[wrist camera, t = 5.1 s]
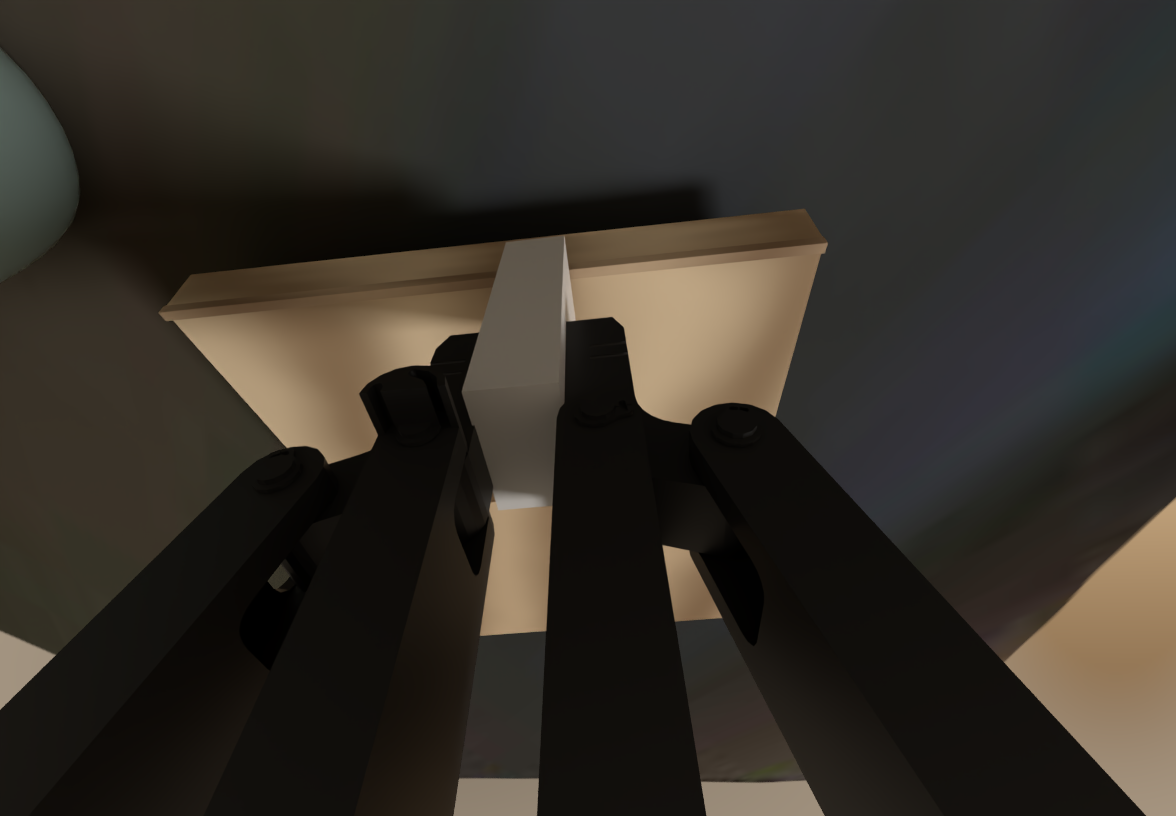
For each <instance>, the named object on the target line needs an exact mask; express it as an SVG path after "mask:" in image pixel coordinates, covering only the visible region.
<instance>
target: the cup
mask: <svg viewBox="0 0 1176 816" xmlns="http://www.w3.org/2000/svg"><path fill="white" fill-rule="evenodd" d="M80 194H81V192H80V178H79V171H78V168H77V164H76V161H75V157H74V153H73V150H72V147H71V145H70V142H69V140H68V138H67V136H66V133H65V131H64V129H63V126H62V124H61V123H60V121H59V119H58V118H57V116H56V114H55V113H54V111H53V109H52V108H51V106H50V104H49V103H48V101H47V100H46V98H45V97H44V96H43V94H42V93H41V92H40V90H39V89H38V88H37V86H36V85H35V84H34V82H33V81H32V80H31V79H30V78H29V76H28V75H27V74H26V73H25V72H24V71H23V70H22V69H21V68H20V67H19V66H18V65H17V64H16V63H15V61H14V60H13V59H12V58H11V57H10V56H9V55H8V54H7V53H6V52H5V51H4V50H3V49H2V48H1V47H0V284H1V283H3V282H5V281H6V280H8V279H10V278H11V277H13V276H14V275H16V274H17V273H19V272H20V271H22V270H23V269H25V268H26V267H28V266H29V265H31V264H32V263H34V262H36V261H37V260H39V259H40V258H42V257H43V256H44V255H45V254H46V253H47V252H49V251H50V250H51V249H52V248H53V247H54V246H56V244H57V243H58V242H59V240H60V239H61V238H62V237H63V235H64V234H65V232H66V231H67V230H68V228H69V227H70V225H71V224H72V223H73V221H74V219H75V215H76V212H77V208H78V203H79V199H80Z"/></svg>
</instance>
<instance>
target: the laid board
mask: <svg viewBox="0 0 1176 816" xmlns="http://www.w3.org/2000/svg"><path fill="white" fill-rule="evenodd" d="M489 511H490V514H491V517H492V520H493V523H494V532H495V536H494V543H493V549H492V556H491V563H490V570H489V577H488V583H487V590H486V597H485V604H484V611H483V617H482V624H481V631H480V636H483V635H497V634H510V633H524V632H537V631H546V625H547V604H548V584H549V564H550V543H551V523H552V506H545V507H532V508H520V509H509V510H498V507H497V504H496V501H495V498H494V494H493V492H492V498H491V504H490V509H489ZM663 551H664V557H665V563H666V569H667V576H668V582H669V588H670V594H671V600H672V607H673V613H674V619H675V621H686V620H699V619H713V618H722V616H721V614H720V612H719V610H718V608H717V607H716V605H715V603H714V601H713V599H712V597H711V595H710V593H709V591H708V589H707V587H706V585H705V583H704V581H703V580H702V578H701V576H700V574H699V572H698V570H697V568H696V566H695V564H694V562H693V560H692V558H691V556H690V552H689V550H684V549H679V548H674V547H669V546H664V545H663Z"/></svg>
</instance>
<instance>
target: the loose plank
mask: <svg viewBox="0 0 1176 816" xmlns="http://www.w3.org/2000/svg"><path fill="white" fill-rule="evenodd" d="M557 236H564V237H565V244H566V252H567V259H568V267H569V274H570V282H571V289H572V297H573V304H574V312H575V319H576V321H577V320H587V319H596V318H606V317H613V318H614V319H615V320H616V321H617V322H619V323H620V324H621V325H622V326H623V327H624V331H625V337H626V344H627V349H628V355H629V362H630V368H631V374H632V380H633V386H634V392H635V397H636V400H637V403H638V404H639V405H640V407H641V408H642V409H643V410H644V411H646V412H647V413H649V414H650V415H652V416H654V417H657V418H659V419H662V420H666V421H671V422H676V423H684V424H691V423H692V419H693V418H694V417H695V416H696V415H697V414H698V413H699V412H700V411H701V410H703V409H706V408H708V407H711V406H713V405H716V404H723V403H732V402H733V403H742V404H750V405H753V406H756V407H758V408H761V409H764V410H766V411H768V412H769V413H770V414H772V415H773V416H774V417H775V416H776V412H777V409H778V405H779V401H780V398H781V394H782V391H783V387H784V384H785V380H786V376H787V373H788V369H789V366H790V362H791V359H792V355H793V352H794V348H795V344H796V341H797V337H798V334H799V330H800V327H801V323H802V319H803V316H804V312H805V309H806V305H807V302H808V298H809V294H810V291H811V287H812V284H813V280H814V277H815V273H816V269H817V266H818V262H819V259H820V255H821V253H825V251H826V247H827V244H828V243H827V241H826V239H825V238H824V237H822V235H821V234H820V232H819V231H818V229H817V228H816V226H815V224H814V223H813V221H812V220H811V218H810V216H809V215H808V213H807V212H806V210H805V209H798V210H789V211H780V212H770V213H761V214H752V215H742V216H733V217H724V218H714V219H705V220H696V221H686V222H677V223H668V224H658V225H649V226H640V227H630V228H621V229H612V230H602V231H593V232H584V233H574V234H565V235H556V236H546V237H537V238H528V239H518V240H509V241H500V242H490V243H481V244H472V245H462V246H453V247H444V248H434V249H425V250H416V251H406V252H397V253H388V254H378V255H369V256H360V257H350V258H341V259H332V260H322V261H313V262H304V263H294V264H285V265H276V266H266V267H257V268H248V269H238V270H229V271H220V272H210V273H201V274H192V275H190V276H189V278H188V279H187V280H186V281H185V283H184V284H183V285H182V286H181V288H180V289H179V290H178V292H177V293H176V294H175V295H174V297H173V298H172V299H171V300H170V302H169V303H168V304H167V305H166V306H163V307H162V309H161V310H160V311H159V312H158V313H159V314H160V315H161V316H162V317H163V318H164V319H165V321H174V322H175V323H176V324H177V325H178V327H179V328H180V329H181V330H182V331H183V332H184V333H185V334H186V335H187V337H188V338H189V339H190V340H191V341H192V342H193V343H194V344H195V346H196V347H197V348H198V349H199V350H200V351H201V352H202V353H203V354H204V356H205V357H206V358H207V359H208V360H209V361H210V362H211V363H212V365H213V366H214V367H215V368H216V369H217V370H218V371H219V372H220V374H221V375H222V376H223V377H224V378H225V379H226V380H227V381H228V382H229V384H230V385H231V386H232V387H233V388H234V389H235V390H236V391H237V393H238V394H239V395H240V396H241V397H242V398H243V399H244V400H245V401H246V403H247V404H248V405H249V406H250V407H251V408H252V409H253V410H254V412H255V413H256V414H257V415H258V416H259V417H260V418H261V419H262V420H263V422H264V423H265V424H266V425H267V426H268V427H269V428H270V429H271V431H272V432H273V433H274V434H275V435H276V436H277V437H278V438H279V440H280V441H281V442H282V443H283V444H284V445H285V446H286V447H287V448H289V447H297V446H309V447H312V448H316V449H318V450H319V451H320V452H321V453H322V454H323V456H324V457H325V459H326V461H327V462H328V464H330V463H334V462H337V461H340V460H343V459H347V458H350V457H353V456H356V455H359V454H362V453H365V452H368V451H370V450H371V449H372V447H373V445H374V443H375V441H376V438H377V436H378V434H377V432H376V430H375V428H374V426H373V424H372V421H371V419H370V417H369V415H368V413H367V411H366V408H365V406H364V404H363V402H362V400H361V398H360V395H359V393H360V392H361V390H362V389H363V388H364V387H365V386H366V385H367V384H368V383H369V382H371V381H372V380H374V379H375V378H377V377H378V376H380V375H382V374H384V373H387V372H389V371H392V370H394V369H398V368H402V367H407V366H412V365H420V366H430V362H431V360H432V357H433V355H434V352H435V350H436V348H437V347H438V346H439V345H441V344H442V343H443V342H444V341H445V340H446V339H447V338H448V337H449V336H450V335H459V334H469V333H478V332H479V331H480V328H481V325H482V321H483V318H484V315H485V311H486V308H487V304H488V301H489V298H490V294H491V291H492V288H493V284H494V281H495V277H496V274H497V271H498V267H499V264H500V261H501V257H502V254H503V251H504V247H505V244H506V242H512V241H521V240H530V239H539V238H548V237H557Z"/></svg>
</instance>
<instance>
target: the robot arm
mask: <svg viewBox="0 0 1176 816" xmlns="http://www.w3.org/2000/svg"><path fill="white" fill-rule="evenodd" d="M359 395H360V398H361V400H362V402H363V404H364V406H365V408H366V411H367V413H368V415H369V417H370V419H371V421H372V424H373V426H374V428H375V430H376V432H377V434H378V436H377V438H376V441H375V443H374V445H373V447H372V449H371V450H370V451H368V452H365V453H362V454H359V455H356V456H353V457H350V458H347V459H343V460H340V461H337V462H334V463H330V464H328V462H327V461H326V459H325V457H324V456H323V454H322V453H321V452H320V451H319V450H318V449H316V448H312V447H309V446H297V447H289V448H286V449H282V450H278V451H275V452H273V453H270V454H269V455H267V456H265V457H263V458H261V459H259V460H257V461H256V462H255V463H254V464H252V465H251V466H250V467H248V468H247V469H246V470H245V471H243V472H242V473H241V474H240V475H239V476H238V477H237V478H236V479H235V480H234V481H233V482H232V483H231V484H230V485H229V486H228V487H227V488H226V489H225V490H224V491H223V492H222V493H221V494H220V495H219V496H218V497H217V498H216V499H215V500H214V501H213V502H212V503H211V504H210V505H209V506H208V507H207V508H205V509H204V510H203V511H202V512H201V513H200V514H199V515H198V516H197V517H196V518H195V519H194V520H193V521H192V522H191V523H190V524H189V525H188V526H187V527H186V528H185V529H184V530H183V531H182V532H181V533H180V534H179V535H178V536H177V537H176V538H175V539H174V540H173V541H172V542H171V543H170V544H169V545H168V546H167V547H166V548H165V549H164V550H163V551H162V552H161V553H160V554H159V555H158V556H157V557H156V558H155V559H154V560H152V561H151V562H150V563H149V564H148V565H147V566H146V567H145V568H144V569H143V570H142V571H141V572H140V573H139V574H138V575H137V576H136V577H135V578H134V579H133V580H132V581H131V582H130V583H129V584H128V585H127V586H126V587H125V588H124V589H123V590H122V591H121V592H120V593H119V594H118V595H117V596H116V597H115V598H114V599H113V600H112V601H111V602H110V603H109V604H108V605H107V606H106V607H105V608H104V609H103V610H102V611H101V612H100V613H98V614H97V615H96V616H95V617H94V618H93V619H92V620H91V621H90V622H89V623H88V624H87V625H86V626H85V627H84V628H83V629H82V630H81V631H80V632H79V633H78V634H77V635H76V636H75V637H74V638H73V639H72V640H71V641H70V642H69V643H68V644H67V645H66V646H65V647H64V648H63V649H62V650H61V651H60V652H59V653H58V654H57V655H56V656H55V657H54V658H53V659H52V660H51V661H50V662H49V663H48V664H47V665H46V666H44V667H43V668H42V669H41V670H40V671H39V673H37V675H35V676H34V677H33V678H32V679H31V680H30V681H29V682H28V683H27V684H26V685H25V686H24V687H23V688H22V689H21V690H20V691H19V692H18V693H17V694H16V695H15V696H14V697H13V698H12V699H11V700H10V701H9V702H8V703H7V704H6V705H5V706H4V707H3V708H2V709H1V710H0V816H453V814H454V807H455V801H456V794H457V787H458V780H459V774H460V767H461V760H462V753H463V746H464V740H465V733H466V726H467V719H468V712H469V706H470V699H471V692H472V685H473V678H474V672H475V665H476V658H477V651H478V645H479V638H480V631H481V624H482V617H483V611H484V604H485V597H486V590H487V583H488V577H489V570H490V563H491V556H492V549H493V543H494V536H495V532H494V523H493V520H492V517H491V514H490V511H489V509H490V504H491V498H492V492H493V494H494V498H495V501H496V504H497V507H498V510H509V509H520V508H532V507H545V506H552V523H551V543H550V564H549V584H548V604H547V625H546V645H545V666H544V686H543V706H542V727H541V747H540V768H539V788H538V811H537V816H706V811H705V805H704V798H703V793H702V786H701V780H700V774H699V767H698V761H697V755H696V749H695V743H694V737H693V730H692V724H691V718H690V712H689V706H688V699H687V693H686V687H685V681H684V675H683V668H682V662H681V656H680V650H679V644H678V638H677V631H676V625H675V619H674V613H673V607H672V600H671V594H670V588H669V582H668V576H667V569H666V563H665V557H664V551H663V545H664V546H669V547H674V548H679V549H684V550H689V552H690V556H691V558H692V560H693V562H694V564H695V566H696V568H697V570H698V572H699V574H700V576H701V578H702V580H703V581H704V583H705V585H706V587H707V589H708V591H709V593H710V595H711V597H712V599H713V601H714V603H715V605H716V607H717V608H718V610H719V612H720V614H721V616H722V618H723V620H724V622H725V624H726V626H727V628H728V630H729V632H730V634H731V636H732V637H733V639H734V641H735V643H736V645H737V647H738V649H739V651H740V653H741V655H742V657H743V659H744V661H745V663H746V665H747V666H748V668H749V670H750V672H751V674H752V676H753V678H754V680H755V682H756V684H757V686H758V688H759V690H760V692H761V694H762V695H763V697H764V699H765V701H766V703H767V705H768V707H769V709H770V711H771V713H772V715H773V717H774V719H775V721H776V723H777V724H778V726H779V728H780V730H781V732H782V734H783V736H784V738H785V740H786V742H787V744H788V746H789V748H790V750H791V752H792V753H793V755H794V757H795V759H796V761H797V763H798V765H799V767H800V769H801V771H802V773H803V775H804V777H805V779H806V780H807V782H808V784H809V786H810V788H811V790H812V792H813V794H814V796H815V798H816V800H817V802H818V804H819V806H820V807H821V809H822V811H823V813H824V815H825V816H1146V815H1145V814H1144V813H1143V812H1142V811H1141V810H1140V809H1139V808H1138V807H1137V806H1136V804H1135V803H1134V802H1133V801H1132V800H1131V799H1130V798H1129V797H1128V796H1127V795H1126V794H1125V793H1124V792H1123V790H1122V789H1121V788H1120V787H1119V786H1118V785H1117V784H1116V783H1115V782H1114V781H1113V780H1112V779H1111V777H1110V776H1109V775H1108V774H1107V773H1106V772H1105V771H1104V770H1103V769H1102V768H1101V767H1100V766H1099V765H1098V763H1097V762H1096V761H1095V760H1094V759H1093V758H1092V757H1091V756H1090V755H1089V754H1088V753H1087V752H1086V751H1085V749H1084V748H1083V747H1082V746H1081V745H1080V744H1079V743H1078V742H1077V741H1076V740H1075V739H1074V738H1073V736H1071V734H1070V733H1069V732H1068V731H1067V730H1066V729H1065V728H1064V727H1063V726H1062V725H1061V724H1060V722H1059V721H1058V720H1057V719H1056V718H1055V717H1054V716H1053V715H1052V714H1051V713H1050V712H1049V711H1048V710H1047V709H1046V707H1045V706H1044V705H1043V704H1042V703H1041V702H1040V701H1039V700H1038V699H1037V698H1036V697H1035V696H1034V694H1033V693H1032V692H1031V691H1030V690H1029V689H1028V688H1027V687H1026V686H1025V685H1024V684H1023V683H1022V682H1021V680H1020V679H1019V678H1018V677H1017V676H1016V675H1015V674H1014V673H1013V672H1012V671H1011V670H1010V669H1009V668H1008V666H1007V665H1006V664H1005V663H1004V662H1003V661H1002V660H1001V659H1000V658H999V657H998V656H997V655H996V654H995V652H994V651H993V650H992V649H991V648H990V647H989V646H988V645H987V644H986V643H985V642H984V641H983V640H982V638H981V637H980V636H979V635H978V634H977V633H976V632H975V631H974V630H973V629H972V628H971V627H970V625H969V624H968V623H967V622H966V621H965V620H964V619H963V618H962V617H961V616H960V615H959V614H958V613H957V611H956V610H955V609H954V608H953V607H952V606H951V605H950V604H949V603H948V602H947V601H946V600H945V599H944V597H943V596H942V595H941V594H940V593H939V592H938V591H937V590H936V589H935V588H934V587H933V586H932V585H931V583H930V582H929V581H928V580H927V579H926V578H925V577H924V576H923V575H922V574H921V573H920V572H919V571H918V569H917V568H916V567H915V566H914V565H913V564H912V563H911V562H910V561H909V560H908V559H907V558H906V557H905V555H904V554H903V553H902V552H901V551H900V550H899V549H898V548H897V547H896V546H895V545H894V544H893V543H892V541H891V540H890V539H889V538H888V537H887V536H886V535H885V534H884V533H883V532H882V531H881V530H880V529H879V527H878V526H877V525H876V524H875V523H874V522H873V521H872V520H871V519H870V518H869V517H868V516H867V515H866V513H865V512H864V511H863V510H862V509H861V508H860V507H859V506H858V505H857V504H856V503H855V502H854V501H853V499H852V498H851V497H850V496H849V495H848V494H847V493H846V492H845V491H844V490H843V489H842V488H841V487H840V485H839V484H838V483H837V482H836V481H835V480H834V479H833V478H832V477H831V476H830V475H829V474H828V473H827V471H826V470H825V469H824V468H823V467H822V466H821V465H820V464H819V463H818V462H817V461H816V460H815V458H814V457H813V456H812V455H811V454H810V453H809V452H808V451H807V450H806V449H805V448H804V447H803V446H802V444H801V443H800V442H799V441H798V440H797V439H796V438H795V437H794V436H793V435H792V434H791V433H790V432H789V430H788V429H787V428H786V427H785V426H784V425H783V424H782V423H781V422H780V421H779V420H778V419H777V418H776V417H774V416H773V415H772V414H770V413H769V412H768V411H766V410H764V409H761V408H758V407H756V406H753V405H750V404H742V403H733V402H732V403H723V404H716V405H713V406H711V407H708V408H706V409H703V410H701V411H700V412H699V413H698V414H697V415H696V416H695V417H694V418H693V419H692V423H691V424H684V423H676V422H671V421H666V420H662V419H659V418H657V417H654V416H652V415H650V414H649V413H647V412H646V411H644V410H643V409H642V408H641V407H640V405H639V404H638V403H637V400H636V397H635V392H634V386H633V380H632V374H631V368H630V362H629V355H628V349H627V344H626V337H625V331H624V327H623V326H622V325H621V324H620V323H619V322H617V321H616V320H615V319H614V318H613V317H606V318H596V319H587V320H577V321H576V319H575V312H574V304H573V297H572V289H571V282H570V274H569V267H568V259H567V252H566V244H565V237H564V236H557V237H548V238H539V239H530V240H521V241H512V242H506V244H505V247H504V251H503V254H502V257H501V261H500V264H499V267H498V271H497V274H496V277H495V281H494V284H493V288H492V291H491V294H490V298H489V301H488V304H487V308H486V311H485V315H484V318H483V321H482V325H481V328H480V331H479V332H478V333H469V334H459V335H450V336H449V337H448V338H447V339H446V340H445V341H444V342H443V343H442V344H441V345H439V346H438V347H437V348H436V350H435V352H434V355H433V357H432V360H431V362H430V366H420V365H412V366H407V367H402V368H398V369H394V370H392V371H389V372H387V373H384V374H382V375H380V376H378V377H377V378H375V379H374V380H372V381H371V382H369V383H368V384H367V385H366V386H365V387H364V388H363V389H362V390H361V392H360V393H359ZM280 564H281V565H282V567H283V568H284V569H285V571H286V572H287V573H288V575H289V576H290V577H289V578H288V580H287V581H286V582H285V583H284V584H283V585H282V586H281V587H279V588H278V589H273V587H272V586H271V585H270V584H269V582H268V579H269V578H270V577H271V576H272V574H273V573H274V572H275V571H276V569H277V568H278V567H279V565H280Z"/></svg>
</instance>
